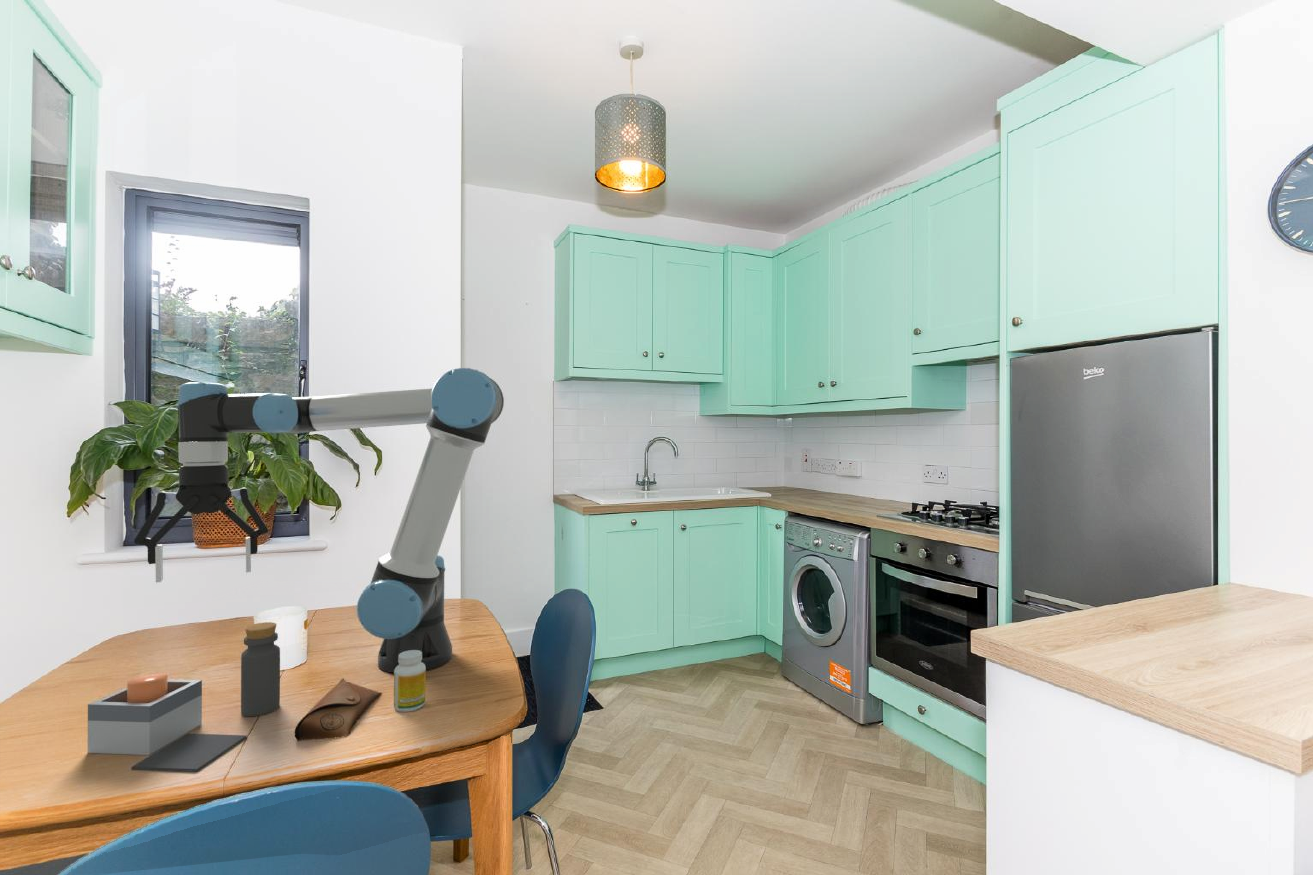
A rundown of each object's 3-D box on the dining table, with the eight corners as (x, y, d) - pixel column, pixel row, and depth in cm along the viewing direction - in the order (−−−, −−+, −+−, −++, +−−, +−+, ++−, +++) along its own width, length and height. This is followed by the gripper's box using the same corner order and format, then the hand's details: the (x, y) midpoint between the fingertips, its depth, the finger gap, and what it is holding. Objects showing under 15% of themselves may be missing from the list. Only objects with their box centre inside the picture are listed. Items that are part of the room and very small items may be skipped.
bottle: (260, 718, 105) (261, 632, 105) (232, 715, 106) (233, 629, 106) (287, 703, 111) (288, 622, 111) (260, 700, 112) (261, 620, 112)
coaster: (246, 737, 98) (246, 735, 98) (196, 771, 88) (196, 768, 88) (187, 735, 99) (187, 733, 99) (131, 769, 89) (131, 766, 89)
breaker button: (175, 709, 100) (175, 673, 100) (148, 723, 95) (148, 685, 95) (146, 708, 101) (146, 672, 101) (118, 722, 96) (118, 685, 96)
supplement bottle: (387, 707, 109) (388, 654, 109) (414, 697, 114) (414, 646, 114) (404, 715, 106) (405, 661, 106) (431, 704, 111) (431, 652, 111)
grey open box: (201, 724, 103) (202, 680, 103) (149, 754, 93) (149, 706, 93) (145, 722, 103) (145, 678, 103) (87, 752, 93) (87, 704, 93)
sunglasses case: (349, 737, 98) (327, 703, 98) (309, 761, 97) (287, 727, 97) (383, 691, 116) (365, 662, 116) (350, 711, 115) (331, 682, 115)
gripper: (280, 461, 125) (281, 564, 125) (120, 466, 111) (122, 581, 111) (281, 462, 119) (283, 570, 119) (112, 467, 105) (114, 589, 105)
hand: (205, 576), depth 115 cm, fingers open, 13 cm apart
